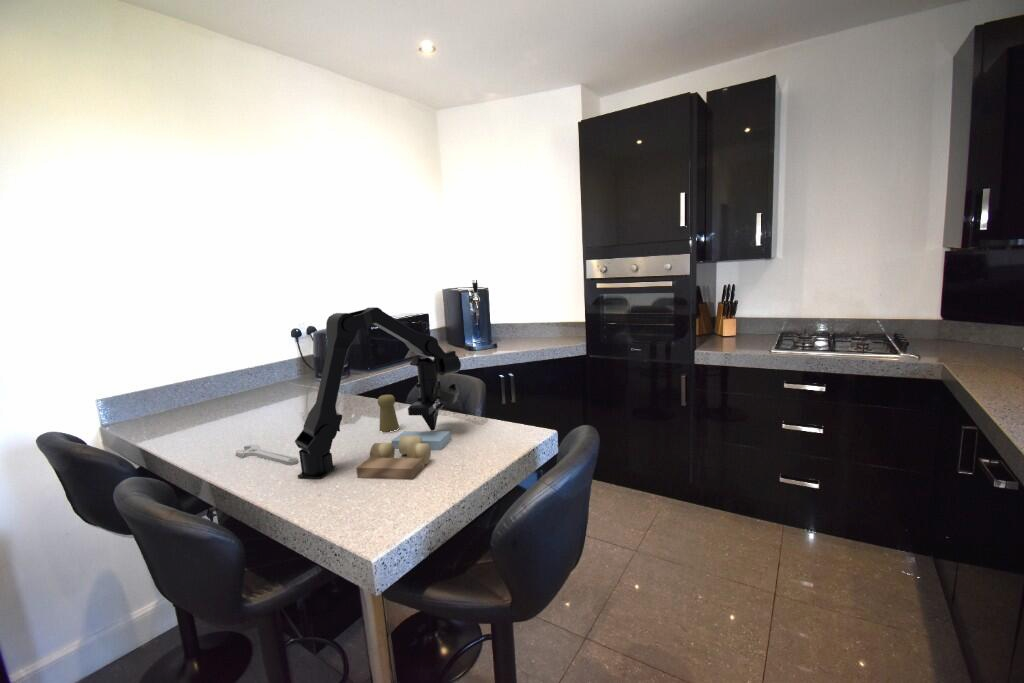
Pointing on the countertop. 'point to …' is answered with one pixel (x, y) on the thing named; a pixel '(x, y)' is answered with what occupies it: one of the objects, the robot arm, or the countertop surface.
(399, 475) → the wooden tray with rolls
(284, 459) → the adjustable wrench
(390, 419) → the cork
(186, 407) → the countertop surface
